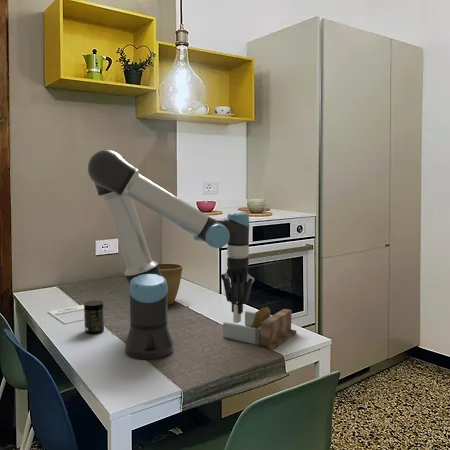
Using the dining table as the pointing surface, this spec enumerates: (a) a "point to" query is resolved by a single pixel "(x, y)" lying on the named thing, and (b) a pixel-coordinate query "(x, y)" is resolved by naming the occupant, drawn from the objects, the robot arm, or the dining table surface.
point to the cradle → (243, 330)
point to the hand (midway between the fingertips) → (237, 321)
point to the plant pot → (171, 279)
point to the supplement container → (94, 316)
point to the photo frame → (66, 310)
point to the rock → (260, 317)
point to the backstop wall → (276, 329)
